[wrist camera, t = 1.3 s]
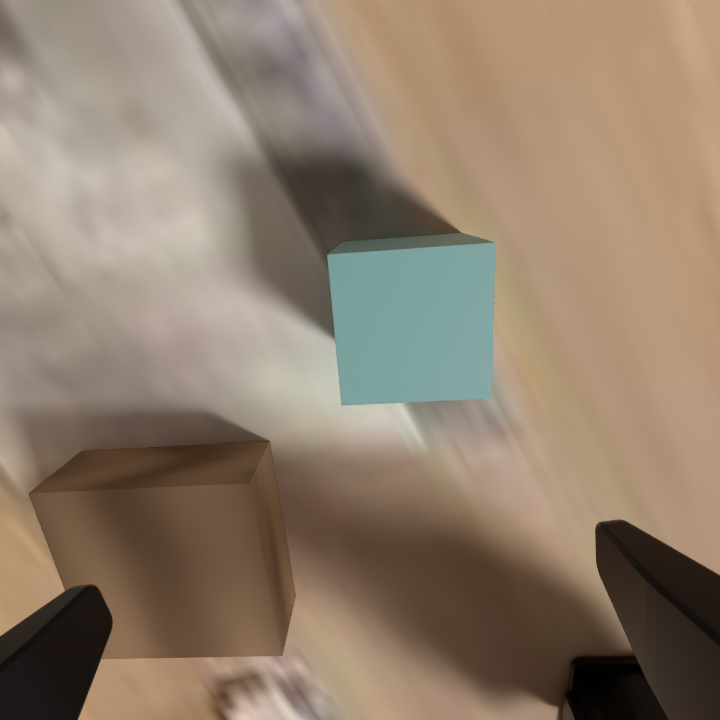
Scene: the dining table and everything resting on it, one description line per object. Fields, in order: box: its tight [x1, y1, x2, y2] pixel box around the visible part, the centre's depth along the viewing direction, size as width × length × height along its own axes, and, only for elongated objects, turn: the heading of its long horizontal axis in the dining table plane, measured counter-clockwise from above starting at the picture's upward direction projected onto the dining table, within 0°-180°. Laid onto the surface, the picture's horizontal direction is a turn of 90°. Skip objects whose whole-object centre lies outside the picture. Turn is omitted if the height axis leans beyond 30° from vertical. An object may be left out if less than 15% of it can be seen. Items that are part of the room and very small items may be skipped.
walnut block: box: [29, 441, 296, 659], centre depth 23 cm, size 10×10×4 cm
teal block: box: [327, 233, 495, 405], centre depth 17 cm, size 5×5×6 cm
